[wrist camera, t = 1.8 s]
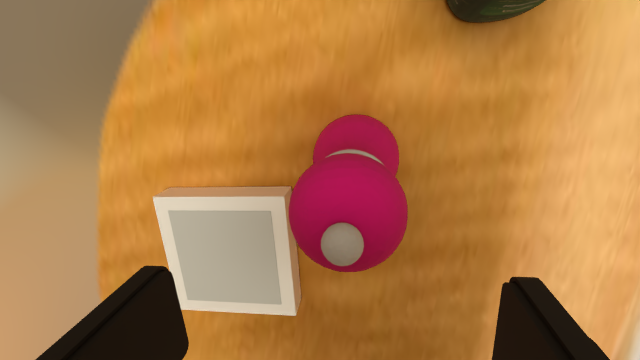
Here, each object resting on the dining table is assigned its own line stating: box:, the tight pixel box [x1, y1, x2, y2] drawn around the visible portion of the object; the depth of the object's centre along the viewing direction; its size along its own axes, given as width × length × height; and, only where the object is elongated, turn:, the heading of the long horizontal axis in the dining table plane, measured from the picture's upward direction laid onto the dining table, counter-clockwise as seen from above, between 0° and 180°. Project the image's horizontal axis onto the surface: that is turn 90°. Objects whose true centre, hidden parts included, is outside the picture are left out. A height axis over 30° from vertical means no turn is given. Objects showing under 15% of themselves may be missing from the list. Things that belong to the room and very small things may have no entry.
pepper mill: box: [289, 115, 407, 272], centre depth 22 cm, size 7×7×20 cm
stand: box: [153, 186, 301, 316], centre depth 35 cm, size 14×14×3 cm
